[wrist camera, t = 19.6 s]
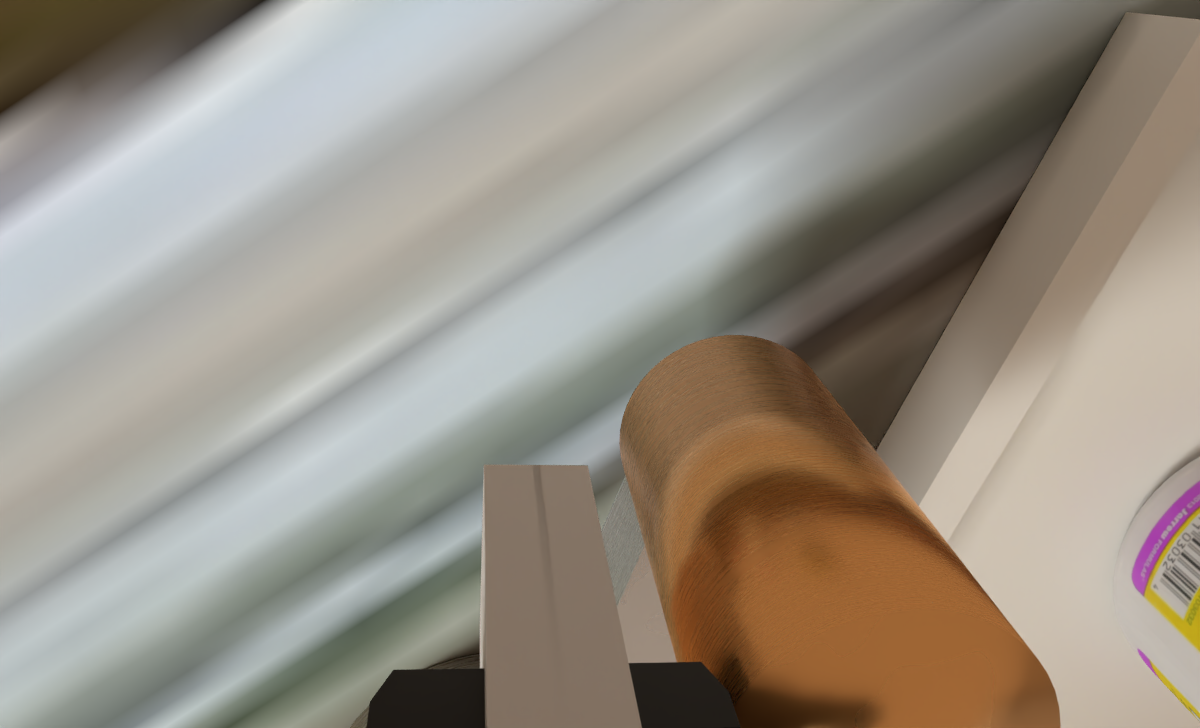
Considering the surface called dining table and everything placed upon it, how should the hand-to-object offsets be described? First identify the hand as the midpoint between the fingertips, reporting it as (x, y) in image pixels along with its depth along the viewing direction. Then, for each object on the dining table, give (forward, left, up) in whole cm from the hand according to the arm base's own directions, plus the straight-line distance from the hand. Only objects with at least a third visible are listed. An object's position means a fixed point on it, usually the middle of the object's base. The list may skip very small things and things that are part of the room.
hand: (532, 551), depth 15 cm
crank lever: (-5, -4, -5) cm, 8 cm away
